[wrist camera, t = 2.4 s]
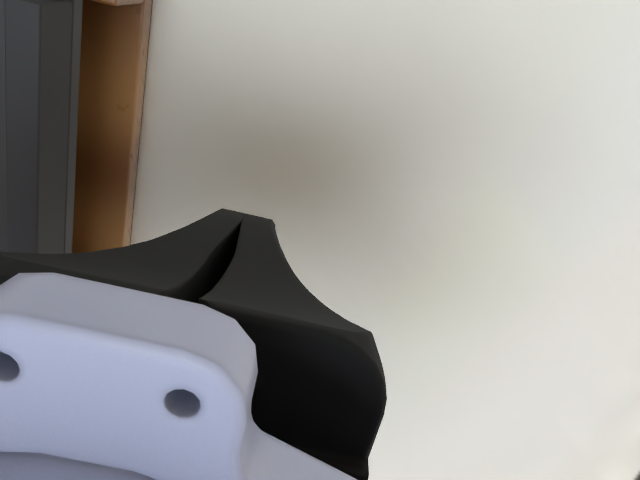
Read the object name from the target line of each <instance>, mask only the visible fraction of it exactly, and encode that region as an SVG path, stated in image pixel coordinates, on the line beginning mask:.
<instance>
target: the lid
mask: <svg viewBox="0 0 640 480" xmlns="http://www.w3.org/2000/svg"><path fill="white" fill-rule="evenodd" d="M82 6H83V0H0V252H12V253H34V254H63V253H72V241H73V217H74V194H75V170H76V147H77V123H78V100H79V77H80V53H81V30H82Z"/></svg>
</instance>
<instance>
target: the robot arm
mask: <svg viewBox="0 0 640 480" xmlns="http://www.w3.org/2000/svg"><path fill="white" fill-rule="evenodd" d="M386 400H387V397H386V383H385V376H384V371H383V367H382V363H381V360H380V356H379V353H378V350H377V347H376V343H375V340H374V337H373V335H372V333H371V332H370V331H368V330H366V329H364V328H362V327H360V326H358V325H356V324H354V323H352V322H350V321H348V320H346V319H344V318H342V317H341V316H339V315H338V314H336V313H335V312H333V311H332V310H330V309H329V308H328V307H326V306H325V305H324V304H323V303H321V302H320V301H319V300H318V299H317V298H316V297H315V296H314V295H312V294H311V293H310V292H309V291H308V290H307V289H306V288H305V286H304V285H303V284H302V283H301V282H300V280H299V279H298V278H297V277H296V275H295V274H294V272H293V271H292V269H291V267H290V265H289V264H288V262H287V260H286V258H285V256H284V253H283V251H282V249H281V247H280V244H279V241H278V238H277V235H276V230H275V224H274V222H273V220H271V219H267V218H263V217H258V216H254V215H249V214H245V213H240V212H236V211H232V210H227V209H220V210H218V211H216V212H214V213H212V214H210V215H208V216H206V217H204V218H202V219H200V220H198V221H196V222H194V223H192V224H190V225H188V226H186V227H183V228H181V229H178V230H176V231H173V232H171V233H168V234H166V235H163V236H161V237H158V238H155V239H152V240H149V241H145V242H141V243H137V244H133V245H130V246H125V247H119V248H113V249H106V250H100V251H93V252H81V253H63V254H34V253H12V252H0V480H368V476H369V470H368V457H369V454H370V451H371V449H372V446H373V443H374V440H375V438H376V435H377V432H378V429H379V427H380V424H381V421H382V418H383V416H384V411H385V405H386Z"/></svg>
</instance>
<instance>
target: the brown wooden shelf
mask: <svg viewBox="0 0 640 480" xmlns="http://www.w3.org/2000/svg"><path fill="white" fill-rule="evenodd" d="M151 9H152V0H83V6H82V30H81V53H80V77H79V100H78V123H77V147H76V170H75V194H74V217H73V241H72V253H81V252H93V251H100V250H106V249H113V248H119V247H125V246H130V238H131V227H132V216H133V205H134V194H135V183H136V172H137V161H138V150H139V140H140V129H141V118H142V107H143V96H144V85H145V74H146V63H147V52H148V41H149V31H150V20H151Z"/></svg>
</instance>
